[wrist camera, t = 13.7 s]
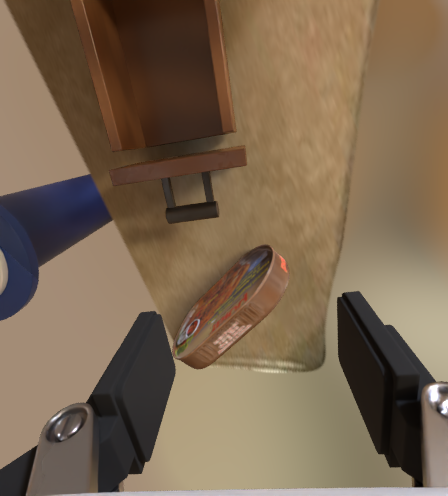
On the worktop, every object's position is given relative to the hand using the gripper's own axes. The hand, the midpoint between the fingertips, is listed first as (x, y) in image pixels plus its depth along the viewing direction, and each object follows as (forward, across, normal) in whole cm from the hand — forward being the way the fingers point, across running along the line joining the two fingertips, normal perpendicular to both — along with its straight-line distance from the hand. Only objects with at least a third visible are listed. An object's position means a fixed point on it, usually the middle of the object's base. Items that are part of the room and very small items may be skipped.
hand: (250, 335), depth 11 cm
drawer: (+19, +5, -11) cm, 22 cm away
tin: (+20, +3, +9) cm, 22 cm away
